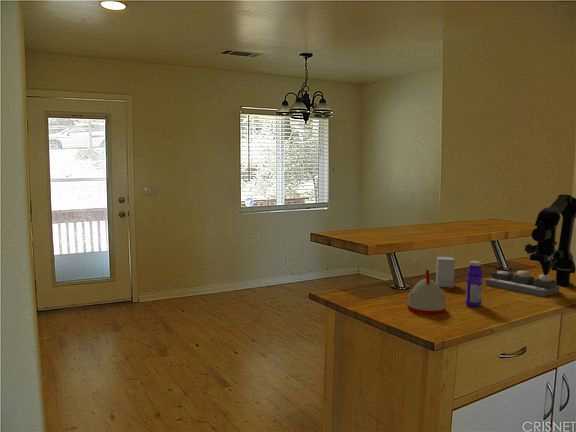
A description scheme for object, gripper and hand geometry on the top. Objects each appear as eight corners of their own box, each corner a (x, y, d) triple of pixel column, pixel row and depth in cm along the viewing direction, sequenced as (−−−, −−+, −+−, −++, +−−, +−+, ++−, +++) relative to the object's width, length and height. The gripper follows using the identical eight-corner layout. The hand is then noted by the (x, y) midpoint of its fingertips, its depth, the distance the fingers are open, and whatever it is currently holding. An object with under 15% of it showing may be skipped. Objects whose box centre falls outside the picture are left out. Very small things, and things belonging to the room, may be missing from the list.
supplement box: (454, 287, 219) (455, 259, 217) (436, 286, 220) (437, 259, 219) (452, 283, 226) (453, 256, 225) (435, 283, 227) (436, 256, 226)
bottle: (479, 308, 187) (481, 263, 185) (463, 306, 190) (465, 262, 188) (482, 304, 193) (484, 260, 191) (467, 302, 196) (469, 259, 194)
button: (500, 275, 230) (500, 270, 229) (510, 277, 226) (511, 272, 225) (494, 277, 227) (495, 271, 226) (505, 279, 223) (505, 273, 222)
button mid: (520, 275, 222) (520, 270, 222) (531, 277, 218) (531, 272, 218) (515, 277, 219) (515, 271, 219) (526, 279, 215) (526, 273, 215)
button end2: (542, 279, 215) (542, 273, 214) (553, 281, 211) (554, 275, 210) (536, 281, 211) (536, 275, 211) (548, 283, 208) (548, 277, 207)
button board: (501, 280, 233) (501, 270, 232) (558, 291, 212) (559, 280, 212) (485, 284, 224) (485, 274, 223) (543, 297, 204) (544, 285, 203)
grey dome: (444, 305, 191) (445, 268, 189) (447, 316, 178) (448, 275, 176) (407, 303, 194) (408, 266, 192) (407, 313, 181) (409, 273, 179)
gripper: (538, 235, 221) (536, 269, 223) (518, 239, 210) (516, 274, 211) (564, 238, 212) (562, 273, 214) (544, 242, 201) (542, 279, 203)
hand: (545, 275), depth 211 cm, fingers closed
